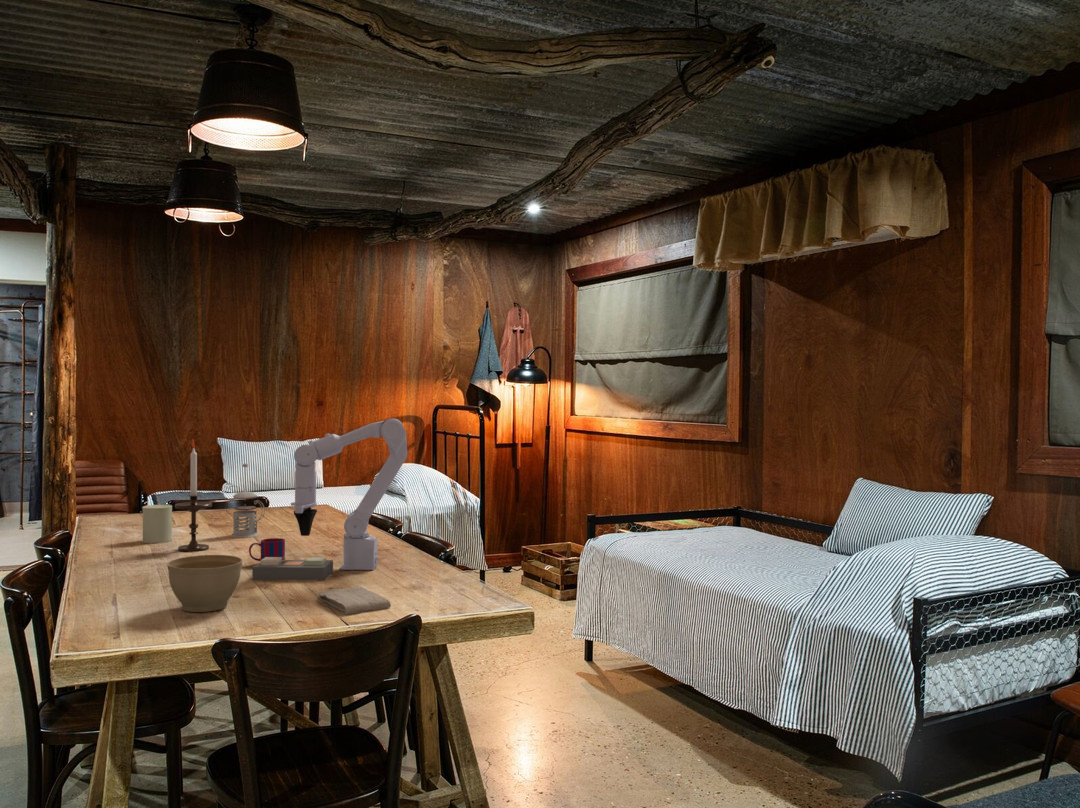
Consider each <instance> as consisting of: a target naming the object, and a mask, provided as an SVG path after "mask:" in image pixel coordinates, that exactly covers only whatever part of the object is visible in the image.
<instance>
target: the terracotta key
mask: <svg viewBox="0 0 1080 808" xmlns="http://www.w3.org/2000/svg"><path fill="white" fill-rule="evenodd" d="M303 563H304V562H294V561H288V562H286V563H285V564H283V565H292V566H300V565H302V564H303Z"/></svg>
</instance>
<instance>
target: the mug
mask: <svg viewBox="0 0 1080 808" xmlns="http://www.w3.org/2000/svg"><path fill="white" fill-rule="evenodd" d="M255 545H257V546H259V547H260V558H256V557H254V556H253V555H252V548H253V546H255ZM248 553H249V554H248V555H249V556H250V557H251V559H253V560H255V561H258V562H261V560H262V559H264V558H265V557H282V560H286V540H285V538H278V537H275V538H274V537H273V538H272V537H271V538H263V539H260V543H259V542H254V543H251V544H250V545H249V549H248Z"/></svg>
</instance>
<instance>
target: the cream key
mask: <svg viewBox="0 0 1080 808" xmlns="http://www.w3.org/2000/svg"><path fill="white" fill-rule="evenodd" d="M260 562H261V565H279V564H281V563H282V557H265V558H264V559H262V560H261V561H260Z"/></svg>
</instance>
